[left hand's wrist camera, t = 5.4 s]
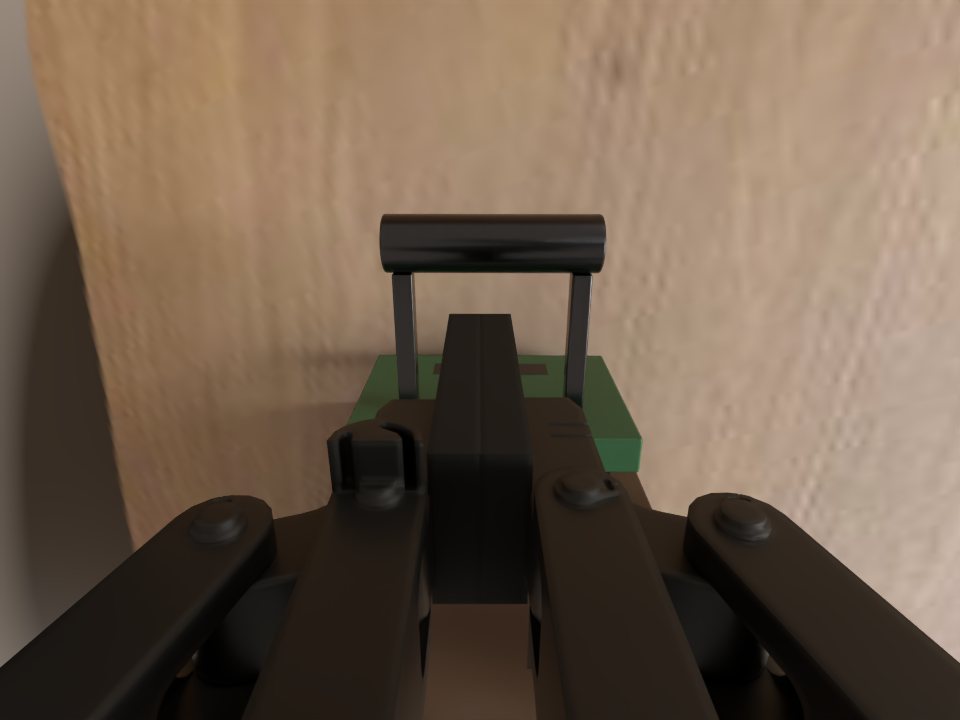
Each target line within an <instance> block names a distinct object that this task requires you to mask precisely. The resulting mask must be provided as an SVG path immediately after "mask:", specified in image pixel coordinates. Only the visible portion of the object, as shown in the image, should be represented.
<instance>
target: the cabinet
mask: <svg viewBox="0 0 960 720" xmlns="http://www.w3.org/2000/svg"><path fill="white" fill-rule="evenodd" d="M606 473H608V474H610V475H611V476H613V477H615V478H616V479H618V480H619V481H620V482H621V483H622V484H623V486H624V487H625V488H626V490H627V491H628V494H629V496H630V499H631V501H632V502H633V503H635V504H638V505H640V506H642V507H645V508H648V509H652V508H651V506H650V503H649V501H648V499H647V496H646V494H645V492H644V489H643V487H642V485H641V482H640V480H639V478H638V475H637V473H636V472H606ZM529 605H530V603H529V594H528V604H432V597H431V629H432V633H431V644H430V655H429V665H428V676H427V687H426V698H425V709H424V719H423V720H537V719H536V708H535V697H534V686H533V675H532V669H527V653H528V629H529Z"/></svg>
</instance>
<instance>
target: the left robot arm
mask: <svg viewBox="0 0 960 720" xmlns="http://www.w3.org/2000/svg"><path fill="white" fill-rule="evenodd" d="M327 446H328V455H329V464H330V473H331V482H332V491H333V492H332V494H331V497H330V499H329V502H328V504H327V505H326V506H324V507H321V508H319V509H317V510H313V511H310V512H306V513H303V514H298V515H293V516H288V517H283V518H278V519H274V520H273V516H272V510H271V508H270V507H269V506H268V505H267V504H266V503H265V502H264V500H261V499H258V498H255V497H252V496H240V495H230V496H223V497H218V498H213V499H210V500H208V501H205V502H203V503H200V504H198V505H195V506H193V507H191V508H189V509H188V510H186V511H185V512H183V513H182V514H180V515H179V516H177V517H176V518H175V519H173V520H172V521H171V522H170V523H169V524H168V525H166V526H165V527H164V528H163V529H162V530H160V531H159V532H158V533H157V534H156V535H155V536H153V537H152V538H151V539H150V540H149V541H148V542H146V543H145V544H144V545H143V546H142V547H141V548H139V549H138V550H137V551H136V552H135V553H134V554H132V555H131V556H130V557H129V558H128V559H127V560H125V561H124V562H123V563H122V564H121V565H120V566H119V567H117V568H116V569H115V570H114V571H113V572H111V573H110V574H109V575H108V576H107V577H106V578H104V579H103V580H102V581H101V582H100V583H99V584H97V585H96V586H95V587H94V588H93V589H92V590H90V591H89V592H88V593H87V594H86V595H85V596H83V597H82V598H81V599H80V600H79V601H78V602H76V603H75V604H74V605H73V606H72V607H71V608H69V609H68V610H67V611H66V612H65V613H64V614H62V615H61V616H60V617H59V618H58V619H56V620H55V621H54V622H53V623H52V624H51V625H50V626H48V627H47V628H46V629H45V630H44V631H42V632H41V633H40V634H39V635H38V636H37V637H35V638H34V639H33V640H32V641H31V642H30V643H28V644H27V645H26V646H25V647H24V648H23V649H21V650H20V651H19V652H18V653H17V654H16V655H14V656H13V657H12V658H11V659H10V660H9V661H8V662H6V663H5V664H4V665H3V666H2V667H0V720H423V719H424V709H425V698H426V687H427V676H428V665H429V655H430V644H431V633H432V629H431V597H432V604H528V594H529V603H530V605H529V629H528V653H527V669H532V675H533V686H534V697H535V708H536V719H537V720H960V663H959V662H958V661H957V660H956V659H954V658H953V657H952V656H951V655H950V654H948V653H947V652H946V651H945V650H944V649H943V648H941V647H940V646H939V645H938V644H937V643H936V642H934V641H933V640H932V639H931V638H930V637H928V636H927V635H926V634H925V633H924V632H923V631H921V630H920V629H919V628H918V627H917V626H915V625H914V624H913V623H912V622H911V621H910V620H908V619H907V618H906V617H905V616H904V615H903V614H901V613H900V612H899V611H898V610H897V609H895V608H894V607H893V606H892V605H891V604H890V603H888V602H887V601H886V600H885V599H884V598H882V597H881V596H880V595H879V594H878V593H877V592H875V591H874V590H873V589H872V588H871V587H870V586H868V585H867V584H866V583H865V582H864V581H862V580H861V579H860V578H859V577H858V576H857V575H855V574H854V573H853V572H852V571H851V570H849V569H848V568H847V567H846V566H845V565H844V564H842V563H841V562H840V561H839V560H838V559H837V558H835V557H834V556H833V555H832V554H831V553H829V552H828V551H827V550H826V549H825V548H824V547H822V546H821V545H820V544H819V543H818V542H816V541H815V540H814V539H813V538H812V537H811V536H809V535H808V534H807V533H806V532H805V531H804V530H802V529H801V528H800V527H799V526H798V525H796V524H795V523H794V522H793V521H792V520H791V519H789V518H788V517H787V516H786V515H785V514H783V513H782V512H780V511H778V510H777V509H775V508H774V507H772V506H771V505H769V504H767V503H765V502H762V501H760V500H757V499H754V498H752V497H750V496H746V495H742V494H740V495H739V494H736V493H710V494H707V495H704V496H701V497H698V498H696V499H695V500H694V501H693V502H692V503H691V504H690V506H689V510H688V516H687V517H684V516H679V515H674V514H669V513H665V512H660V511H656V510H652V509H648V508H645V507H642V506H640V505H638V504H635V503H633V502H632V501H631V499H630V496H629V494H628V491H627V490H626V488H625V487H624V486H623V484H622V483H621V482H620V481H619V480H618V479H616V478H615V477H613V476H611V475H610V474H608V473H606V472H605V469H604V466H603V463H602V461H601V458H600V455H599V452H598V450H597V447H596V444H595V441H594V439H593V437H592V433H591V431H590V428H589V425H588V422H587V420H586V417H585V414H584V411H583V409H582V408H581V407H579V406H578V405H577V404H576V403H574V402H573V401H572V400H571V399H569V398H568V397H524V393H523V387H522V381H521V375H520V369H519V363H518V357H517V351H516V344H515V338H514V332H513V326H512V320H511V314H449V320H448V326H447V332H446V338H445V344H444V351H443V357H442V363H441V369H440V375H439V381H438V387H437V393H436V399H392V400H391V401H389V402H388V403H387V404H386V405H384V406H383V407H382V408H381V409H379V410H378V411H377V414H376V416H375V419H367V420H362V421H359V422H355V423H351V424H348V425H346V426H344V427H342V428H341V429H339V430H337V431H335V432H334V433H333V434H332V435H331V437H330V438H329V439H328V440H327Z"/></svg>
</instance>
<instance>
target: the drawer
mask: <svg viewBox="0 0 960 720" xmlns="http://www.w3.org/2000/svg"><path fill="white" fill-rule="evenodd" d="M605 251H606V226H605V220H604V217H603V216H602V215H601V214H384V215H383V216H382V219H381V223H380V256H381V262H382V267H383V269H384V271H385V272H386V273H393V274H392V287H393V304H394V321H395V338H396V355H379V357H378V359H377V361H376V363H375V366H374V368H373V370H372V372H371V374H370V376H369V379H368V381H367V383H366V385H365V387H364V389H363V391H362V394H361V396H360V398H359V400H358V402H357V404H356V406H355V409H354V411H353V413H352V415H351V417H350V419H349V422H348V424H351V423H355V422H359V421H362V420H367V419H375V416H376V414H377V411H378V410H379V409H381V408H382V407H383V406H384V405H386V404H387V403H388V402H389V401H391V400H392V399H436V393H437V387H438V381H439V375H440V369H441V363H442V357H443V355H418V350H417V327H416V304H415V281H414V273H570V283H569V300H568V317H567V333H566V350H565V356H517V357H518V363H519V369H520V375H521V381H522V387H523V393H524V397H568V398H569V399H571V400H572V401H573V402H574V403H576V404H577V405H578V406H579V407H581V408H582V409H583V411H584V414H585V417H586V420H587V422H588V425H589V428H590V431H591V433H592V437H593V439H594V441H595V444H596V447H597V450H598V452H599V455H600V458H601V461H602V463H603V466H604V469H605V472H638V471H639V466H640V458H641V450H642V441H643V440H642V437H641V435H640V433H639V431H638V429H637V427H636V425H635V423H634V421H633V419H632V417H631V415H630V413H629V411H628V409H627V407H626V405H625V403H624V401H623V399H622V397H621V395H620V393H619V391H618V389H617V387H616V385H615V383H614V381H613V378H612V376H611V374H610V372H609V370H608V368H607V366H606V364H605V362H604V360H603V358H602V356H587V345H588V332H589V319H590V305H591V292H592V279H593V276H592V274H591V273H599V272H601V270H602V267H603V264H604V259H605ZM348 424H347V425H348Z"/></svg>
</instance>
